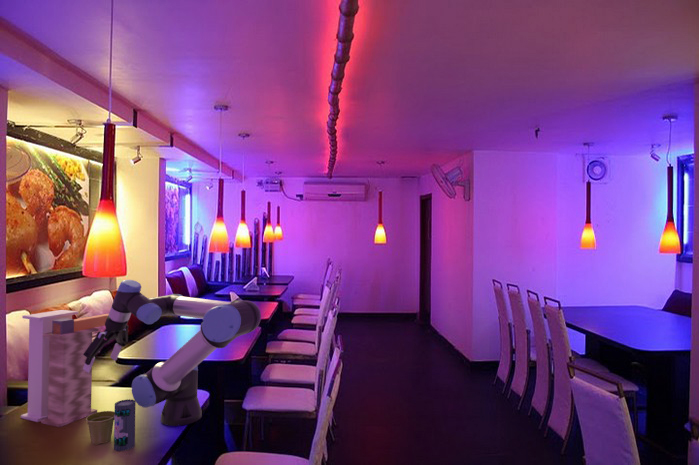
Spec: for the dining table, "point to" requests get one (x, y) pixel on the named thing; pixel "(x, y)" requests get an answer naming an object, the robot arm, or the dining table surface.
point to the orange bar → (77, 324)
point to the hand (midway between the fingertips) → (100, 364)
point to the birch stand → (69, 378)
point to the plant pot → (100, 426)
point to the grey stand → (40, 362)
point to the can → (124, 425)
